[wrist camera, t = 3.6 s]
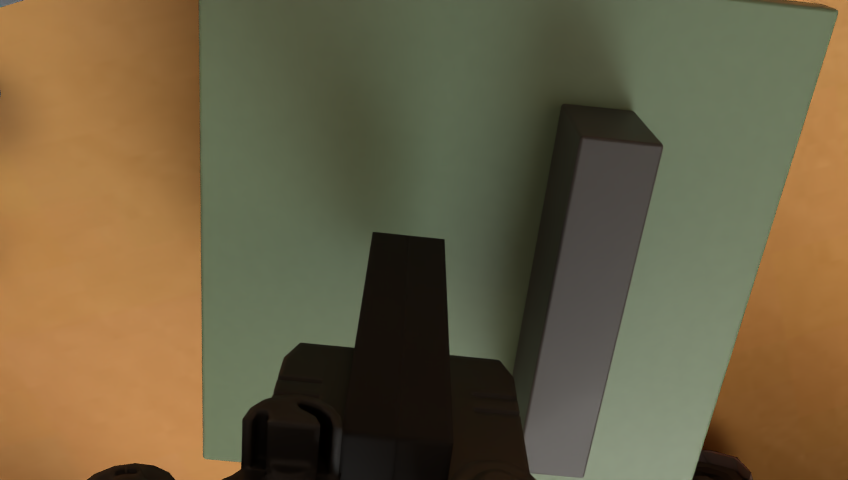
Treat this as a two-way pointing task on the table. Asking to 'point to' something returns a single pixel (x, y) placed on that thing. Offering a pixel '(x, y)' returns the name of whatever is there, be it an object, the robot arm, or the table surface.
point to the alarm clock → (8, 2)
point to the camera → (720, 467)
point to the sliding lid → (504, 197)
